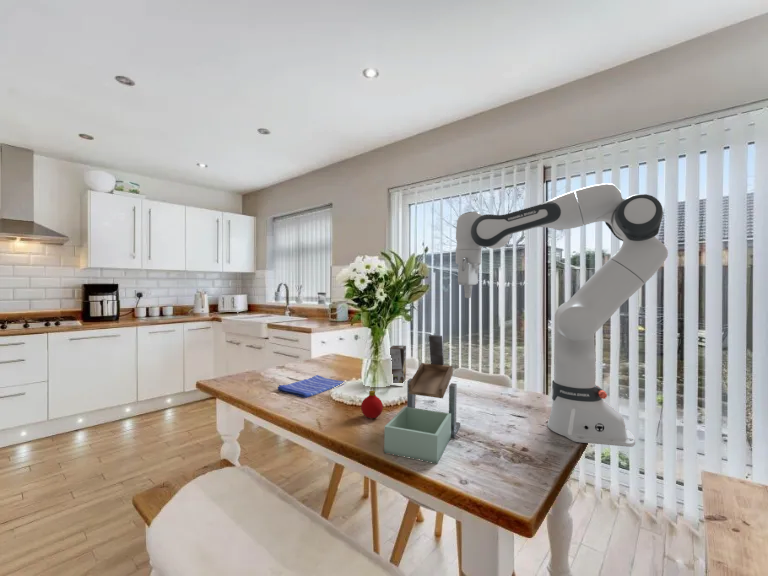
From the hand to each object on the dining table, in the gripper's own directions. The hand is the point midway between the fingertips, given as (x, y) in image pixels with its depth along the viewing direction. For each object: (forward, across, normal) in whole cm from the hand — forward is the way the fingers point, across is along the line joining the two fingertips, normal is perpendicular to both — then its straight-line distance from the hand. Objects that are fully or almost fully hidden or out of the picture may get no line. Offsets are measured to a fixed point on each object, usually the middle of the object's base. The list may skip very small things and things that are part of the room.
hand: (467, 297), depth 125 cm
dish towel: (+40, -2, +64) cm, 75 cm away
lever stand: (+39, -22, +7) cm, 45 cm away
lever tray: (+25, -22, +7) cm, 34 cm away
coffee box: (+39, +18, +33) cm, 54 cm away
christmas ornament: (+39, -22, +27) cm, 53 cm away
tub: (+39, -34, +7) cm, 53 cm away
